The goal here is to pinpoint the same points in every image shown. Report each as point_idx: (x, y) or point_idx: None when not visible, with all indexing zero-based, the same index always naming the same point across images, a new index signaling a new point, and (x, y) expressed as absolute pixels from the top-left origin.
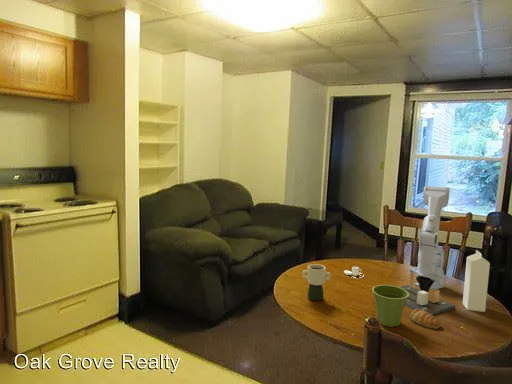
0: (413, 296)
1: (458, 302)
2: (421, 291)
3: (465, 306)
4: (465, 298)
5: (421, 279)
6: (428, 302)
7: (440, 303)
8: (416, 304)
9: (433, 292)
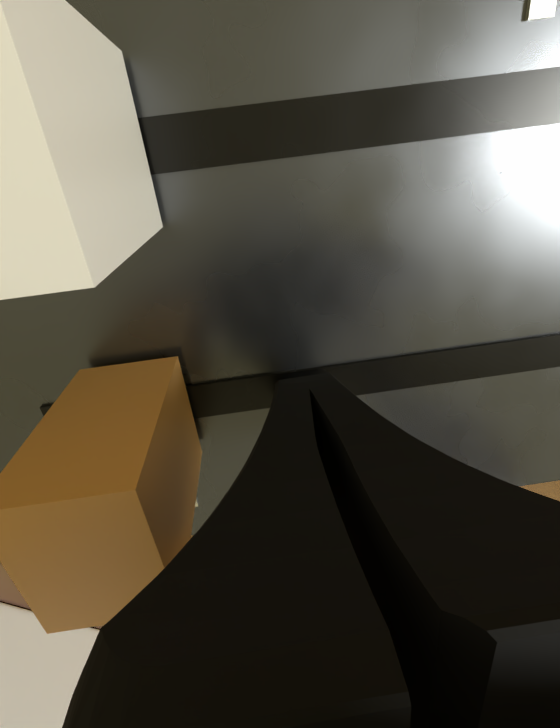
0: (400, 270)
1: None
2: (4, 156)
3: (36, 621)
4: (21, 715)
5: (387, 668)
6: (139, 326)
7: None
8: (92, 15)
9: (16, 487)
